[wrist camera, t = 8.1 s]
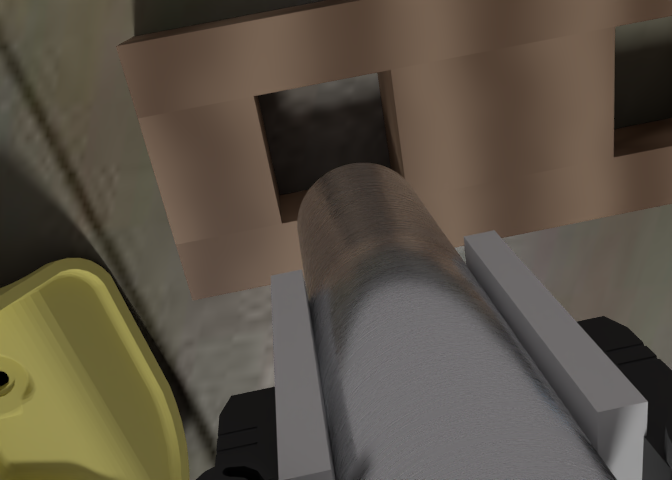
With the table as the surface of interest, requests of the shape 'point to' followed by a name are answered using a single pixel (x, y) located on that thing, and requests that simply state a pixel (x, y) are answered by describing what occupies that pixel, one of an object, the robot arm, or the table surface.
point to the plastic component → (82, 383)
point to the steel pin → (421, 348)
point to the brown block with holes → (396, 120)
